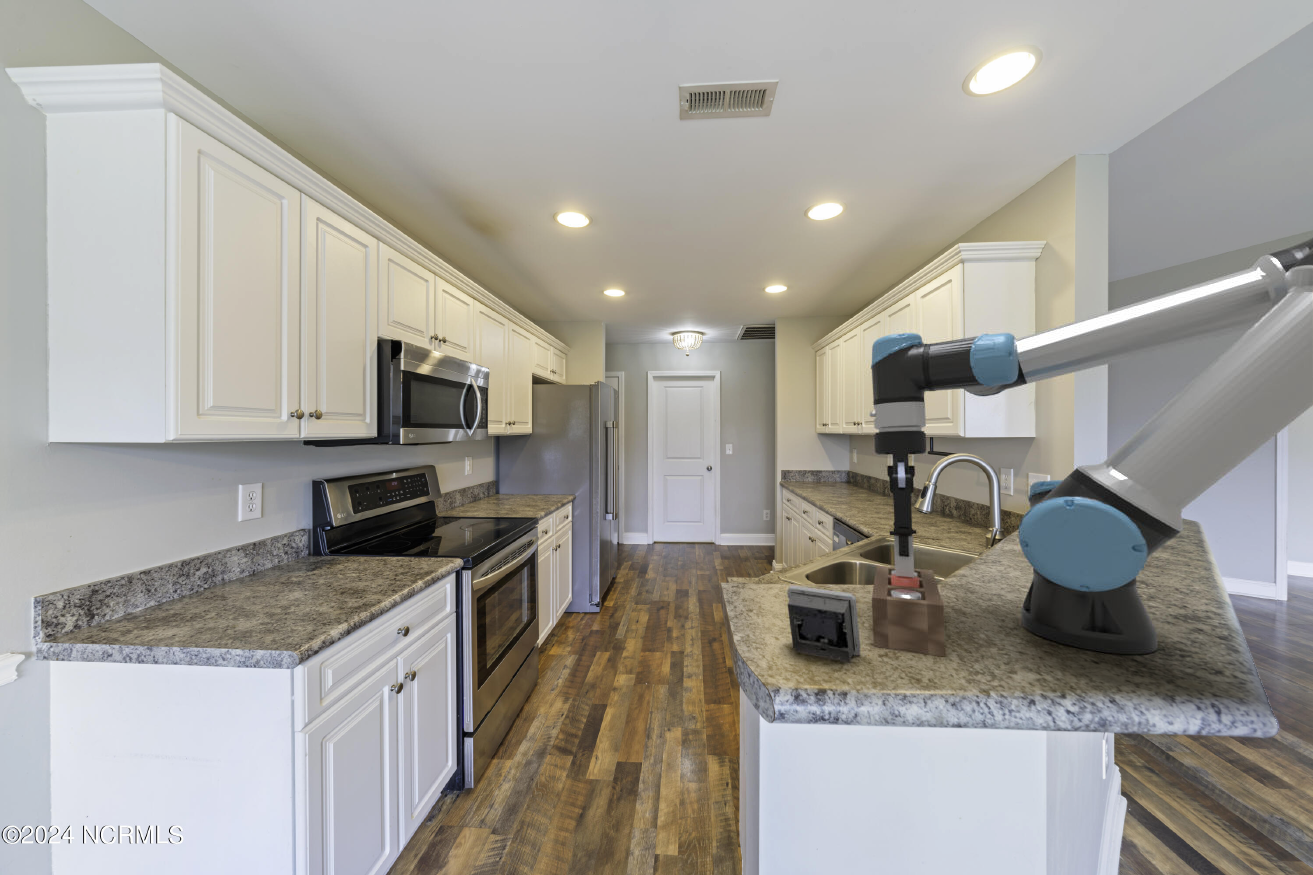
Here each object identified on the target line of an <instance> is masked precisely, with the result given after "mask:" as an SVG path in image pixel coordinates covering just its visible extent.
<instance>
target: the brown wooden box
mask: <svg viewBox="0 0 1313 875" xmlns="http://www.w3.org/2000/svg"><path fill="white" fill-rule="evenodd" d="M893 570H895V566H887V565H886V566H885V565H876V568H875V574H874V582H873V586H872V587H873V588H872V595H871V609H872V610H871V611H872V612H871V613H872V614H871V616H872V637H873V640H872V641H873V642H872V645H873V647H878V648H884V649H890V650H897V651H904V652H911V653H917V654H923V655H930V656H936V657H941V658H946V636H945V635H946V631H945V609H944V607H945V606H944V603H943V599H942V596H941V594H940V589H939V587H938V584H937V580H936V577H935V574H934V571H933V569H924V568H923V569H921V568H914V572H916V573H917V577H919V588H914V587H904V586H894V585H891V575H892V572H891V571H893ZM896 589H905V590H912V591H916V592H918V593H920V594H921V600H916V599H907V598H898V597H891V591H892V590H896Z"/></svg>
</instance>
